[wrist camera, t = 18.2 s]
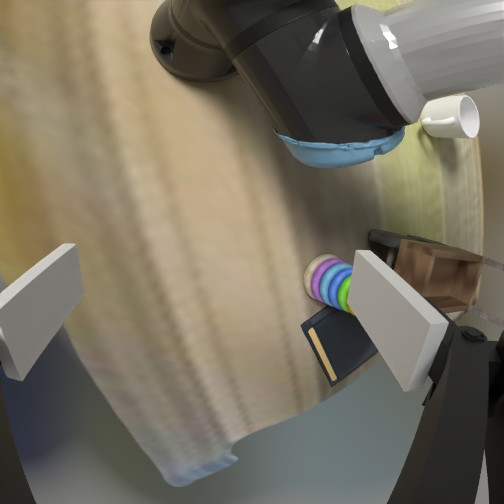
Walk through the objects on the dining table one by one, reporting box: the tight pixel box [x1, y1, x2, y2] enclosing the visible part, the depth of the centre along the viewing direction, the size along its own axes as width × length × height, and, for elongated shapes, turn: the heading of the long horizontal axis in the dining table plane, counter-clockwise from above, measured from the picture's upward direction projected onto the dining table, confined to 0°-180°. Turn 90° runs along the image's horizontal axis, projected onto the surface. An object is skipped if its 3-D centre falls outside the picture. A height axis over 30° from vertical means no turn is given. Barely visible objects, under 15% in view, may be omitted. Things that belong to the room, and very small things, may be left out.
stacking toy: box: [304, 254, 356, 316], centre depth 44 cm, size 8×8×19 cm
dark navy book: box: [301, 305, 378, 387], centre depth 58 cm, size 20×2×15 cm
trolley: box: [369, 229, 504, 328], centre depth 45 cm, size 10×19×27 cm, turn 81°
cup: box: [420, 95, 479, 139], centre depth 48 cm, size 8×12×10 cm
